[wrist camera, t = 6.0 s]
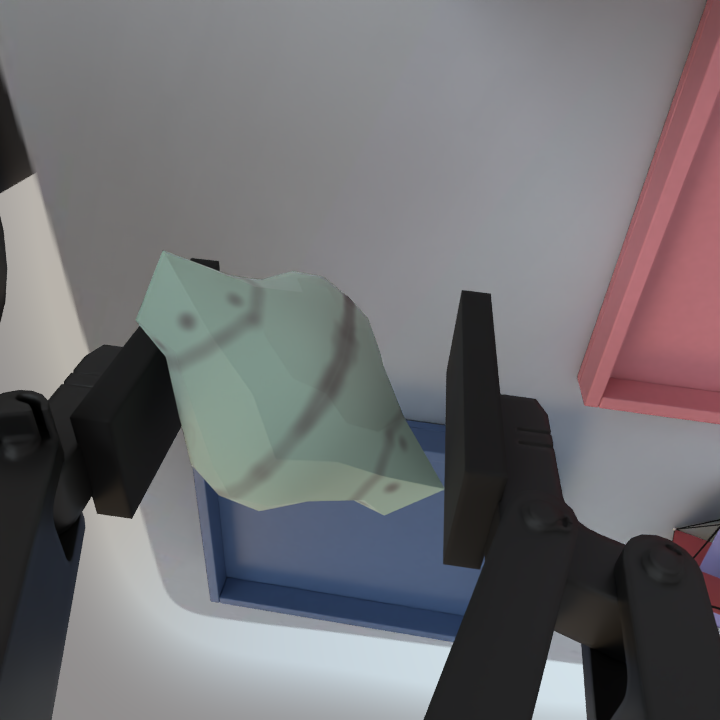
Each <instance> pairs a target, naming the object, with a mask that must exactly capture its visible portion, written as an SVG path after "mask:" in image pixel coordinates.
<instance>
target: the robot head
mask: <svg viewBox="0 0 720 720" xmlns="http://www.w3.org/2000/svg"><path fill="white" fill-rule="evenodd" d="M136 321H137V323H138V324H139V325H140V326H141V327H142V329H143V330H144V331H145V332H146V334H147V335H148V336H149V337H150V338H151V340H152V341H153V342H154V343H155V345H156V346H157V347H158V348H159V349H160V351H161V352H162V353H163V354H164V355H165V357H166V360H167V364H168V369H169V373H170V378H171V382H172V386H173V391H174V395H175V400H176V404H177V409H178V413H179V418H180V422H181V426H182V430H183V434H184V438H185V442H186V446H187V450H188V454H189V458H190V462H191V465H192V466H193V467H194V468H195V469H196V470H197V472H198V473H199V474H200V475H201V476H202V477H203V478H204V479H205V480H206V482H207V483H208V484H209V485H210V486H211V487H212V488H213V489H214V490H215V492H216V493H217V494H218V495H220V496H222V497H225V498H227V499H230V500H232V501H235V502H237V503H240V504H242V505H245V506H247V507H250V508H252V509H255V510H257V511H263V510H268V509H273V508H278V507H283V506H287V505H292V504H297V503H302V502H307V501H345V500H354V501H356V502H358V503H360V504H362V505H364V506H366V507H368V508H370V509H372V510H374V511H376V512H378V513H380V514H382V515H387V514H389V513H391V512H393V511H396V510H398V509H400V508H403V507H405V506H407V505H410V504H412V503H414V502H417V501H419V500H421V499H424V498H426V497H428V496H431V495H433V494H435V493H438V492H440V491H442V490H444V486H443V485H442V483H441V481H440V479H439V478H438V476H437V474H436V472H435V471H434V469H433V467H432V465H431V464H430V462H429V460H428V458H427V457H426V455H425V453H424V451H423V450H422V448H421V446H420V444H419V443H418V441H417V439H416V437H415V436H414V434H413V432H412V430H411V429H410V427H409V425H408V423H407V422H406V420H405V418H404V416H403V414H402V411H401V409H400V406H399V404H398V401H397V399H396V396H395V394H394V391H393V389H392V386H391V384H390V381H389V379H388V376H387V374H386V371H385V369H384V366H383V363H382V359H381V354H380V351H379V348H378V345H377V343H376V340H375V337H374V334H373V331H372V328H371V325H370V323H369V320H368V318H367V317H366V316H365V314H364V313H363V312H362V311H361V310H360V309H359V308H358V307H357V306H356V305H355V304H354V302H353V301H352V300H351V299H350V298H349V297H348V296H346V295H345V294H344V293H343V292H341V291H340V290H339V289H338V288H337V287H335V286H334V285H333V284H332V283H330V282H329V281H328V280H327V279H325V278H324V277H322V276H316V275H311V274H306V273H300V272H295V271H292V272H288V273H284V274H280V275H276V276H273V277H269V278H265V279H262V280H259V279H252V278H245V277H238V276H231V275H228V274H225V273H222V272H220V271H217V270H214V269H212V268H209V267H206V266H204V265H201V264H198V263H196V262H193V261H190V260H188V259H185V258H182V257H180V256H177V255H174V254H171V253H169V252H166V251H163V252H162V254H161V257H160V259H159V262H158V264H157V267H156V269H155V272H154V274H153V277H152V280H151V282H150V285H149V287H148V290H147V292H146V295H145V297H144V300H143V302H142V305H141V308H140V310H139V313H138V315H137V318H136Z"/></svg>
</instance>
